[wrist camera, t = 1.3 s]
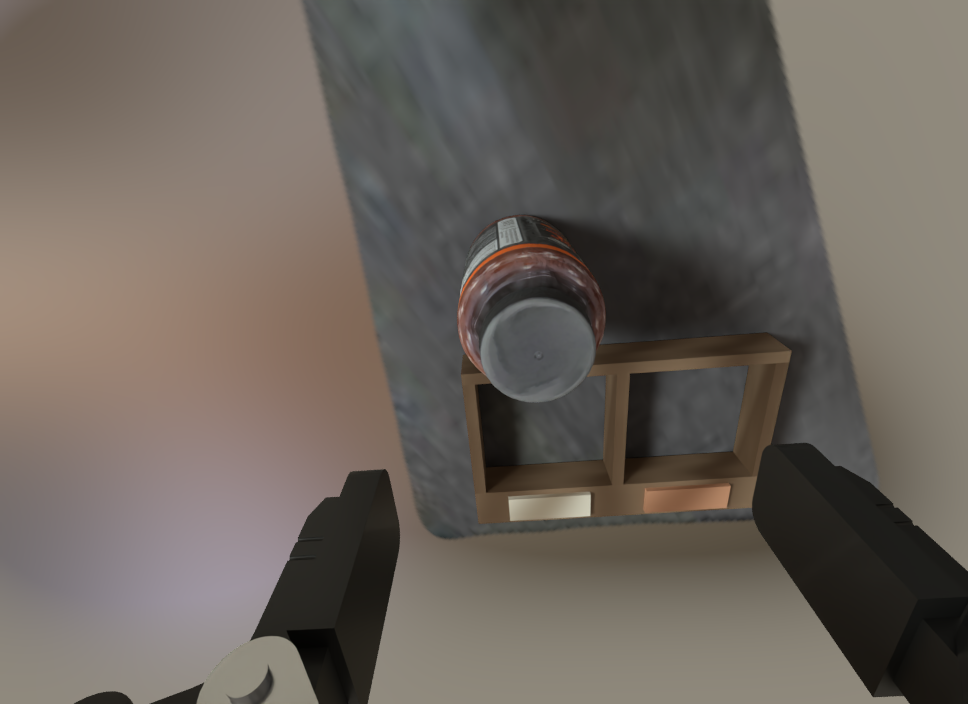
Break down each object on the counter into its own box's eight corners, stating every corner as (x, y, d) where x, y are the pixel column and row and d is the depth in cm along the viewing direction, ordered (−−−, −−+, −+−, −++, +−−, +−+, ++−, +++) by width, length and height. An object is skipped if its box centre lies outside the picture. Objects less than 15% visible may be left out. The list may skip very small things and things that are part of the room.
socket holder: (767, 332, 28) (795, 353, 25) (737, 481, 33) (758, 510, 30) (463, 354, 28) (460, 377, 26) (479, 496, 33) (478, 527, 31)
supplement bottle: (593, 270, 26) (663, 362, 16) (513, 336, 28) (529, 457, 18) (524, 187, 24) (553, 231, 14) (442, 263, 26) (415, 351, 16)
